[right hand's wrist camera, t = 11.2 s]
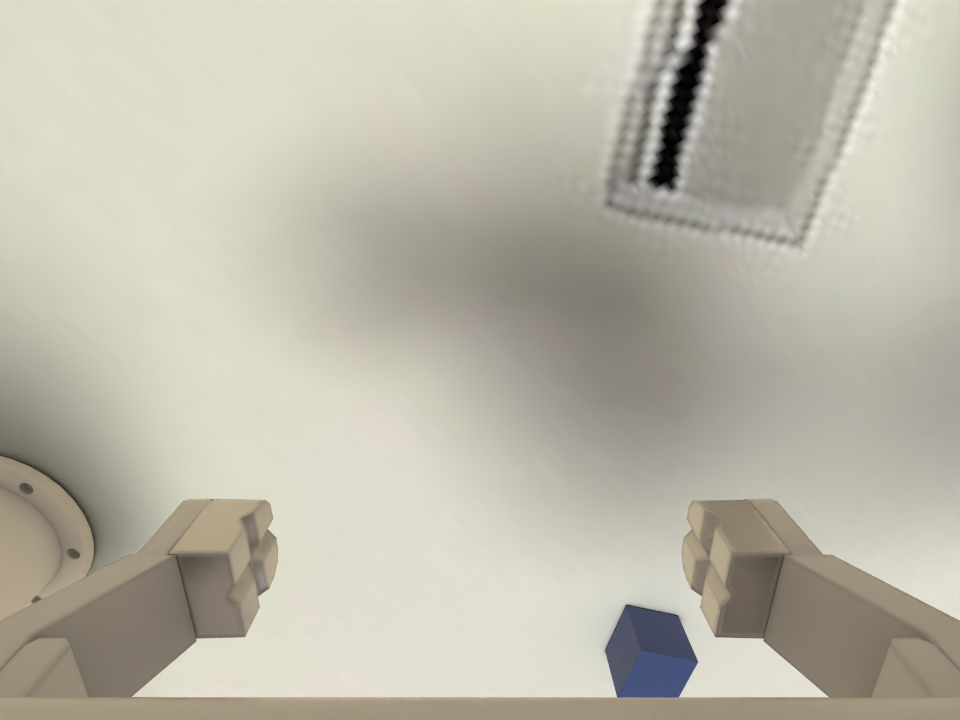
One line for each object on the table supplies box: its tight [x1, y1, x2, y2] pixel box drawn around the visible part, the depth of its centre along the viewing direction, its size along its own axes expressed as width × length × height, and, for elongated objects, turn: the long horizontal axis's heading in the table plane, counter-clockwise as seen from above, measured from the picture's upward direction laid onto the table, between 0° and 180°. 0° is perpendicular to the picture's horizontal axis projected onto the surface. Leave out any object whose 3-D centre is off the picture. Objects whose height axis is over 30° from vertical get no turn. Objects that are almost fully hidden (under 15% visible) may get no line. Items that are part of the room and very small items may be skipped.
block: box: [605, 605, 698, 698], centre depth 40 cm, size 4×5×4 cm
